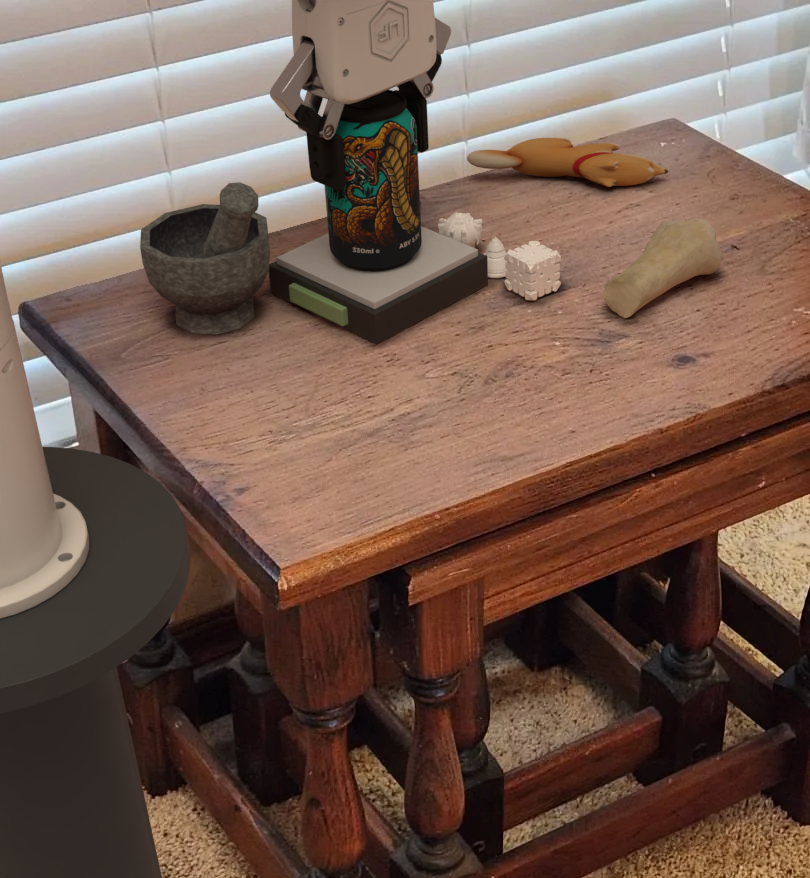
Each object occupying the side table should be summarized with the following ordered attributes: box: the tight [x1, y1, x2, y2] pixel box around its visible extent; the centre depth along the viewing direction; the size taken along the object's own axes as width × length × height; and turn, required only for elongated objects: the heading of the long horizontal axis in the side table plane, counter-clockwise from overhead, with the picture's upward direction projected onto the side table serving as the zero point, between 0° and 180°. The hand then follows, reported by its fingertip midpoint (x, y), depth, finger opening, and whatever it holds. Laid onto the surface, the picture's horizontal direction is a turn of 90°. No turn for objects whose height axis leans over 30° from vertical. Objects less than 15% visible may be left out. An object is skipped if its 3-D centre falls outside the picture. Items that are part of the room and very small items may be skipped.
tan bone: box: [602, 217, 724, 319], centre depth 117 cm, size 11×6×5 cm, turn 150°
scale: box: [268, 225, 489, 345], centre depth 120 cm, size 12×12×3 cm
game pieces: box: [437, 212, 562, 301], centre depth 121 cm, size 12×3×3 cm, turn 37°
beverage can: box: [323, 89, 422, 271], centre depth 115 cm, size 7×7×12 cm
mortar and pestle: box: [139, 181, 271, 336], centre depth 115 cm, size 11×9×12 cm
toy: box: [466, 137, 669, 188], centre depth 134 cm, size 3×17×5 cm
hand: (370, 164), depth 115 cm, fingers open, 7 cm apart
